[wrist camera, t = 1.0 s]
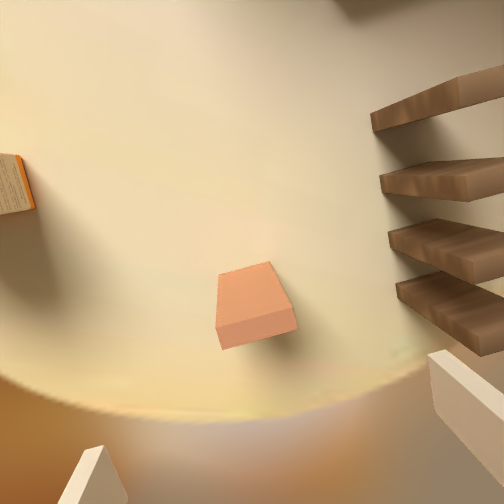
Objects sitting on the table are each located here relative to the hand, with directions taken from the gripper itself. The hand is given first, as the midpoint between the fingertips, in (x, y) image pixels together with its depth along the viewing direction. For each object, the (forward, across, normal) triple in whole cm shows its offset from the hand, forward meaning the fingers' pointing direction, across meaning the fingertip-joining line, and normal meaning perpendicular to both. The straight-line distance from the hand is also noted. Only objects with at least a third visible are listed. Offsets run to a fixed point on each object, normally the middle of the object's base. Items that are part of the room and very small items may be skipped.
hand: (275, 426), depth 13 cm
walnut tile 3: (+19, +17, +6) cm, 26 cm away
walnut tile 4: (+19, +17, +11) cm, 28 cm away
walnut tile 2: (+19, +17, 0) cm, 25 cm away
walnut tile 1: (+19, +17, -5) cm, 26 cm away
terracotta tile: (+19, 0, 0) cm, 19 cm away
